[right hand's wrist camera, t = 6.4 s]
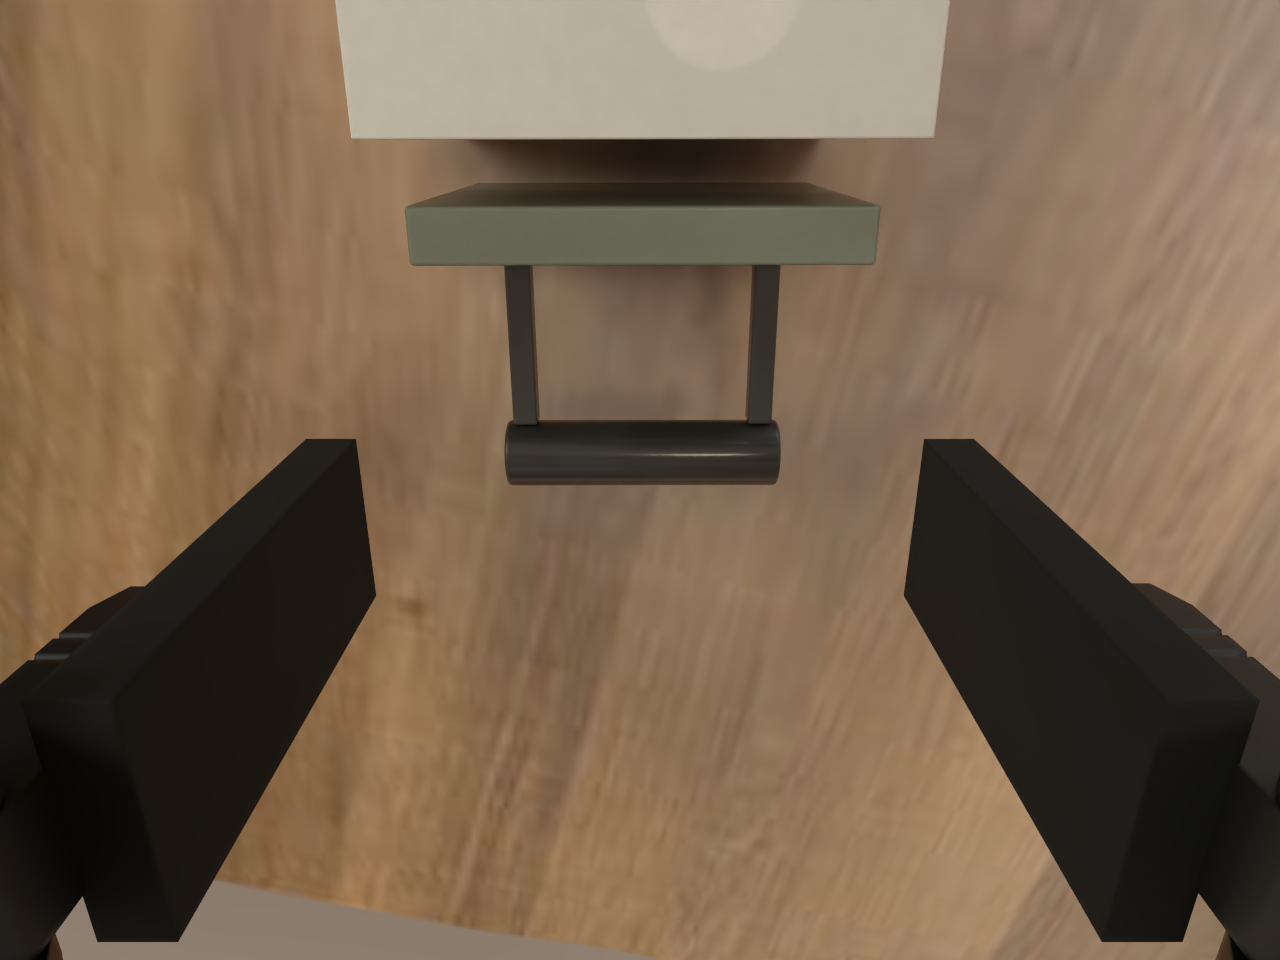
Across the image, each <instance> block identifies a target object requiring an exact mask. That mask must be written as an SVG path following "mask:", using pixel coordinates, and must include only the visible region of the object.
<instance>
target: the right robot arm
mask: <svg viewBox="0 0 1280 960" xmlns="http://www.w3.org/2000/svg"><path fill="white" fill-rule="evenodd" d="M375 597H376V591H375V583H374V575H373V568H372V560H371V552H370V545H369V537H368V529H367V522H366V514H365V506H364V498H363V491H362V483H361V475H360V468H359V460H358V452H357V445H356V439H306V440H305V441H304V442H303V443H301V444H300V445H299V446H298V447H297V448H296V449H295V450H294V451H293V452H292V453H290V454H289V455H288V456H287V457H286V458H285V459H284V460H283V461H282V462H281V463H280V464H278V465H277V466H276V467H275V468H274V469H273V470H272V471H271V472H270V473H269V474H268V475H266V476H265V477H264V478H263V479H262V480H261V481H260V482H259V483H258V484H257V485H255V486H254V487H253V488H252V489H251V490H250V491H249V492H248V493H247V494H246V495H245V496H243V497H242V498H241V499H240V500H239V501H238V502H237V503H236V504H235V505H234V506H233V507H231V508H230V509H229V510H228V511H227V512H226V513H225V514H224V515H223V516H222V517H220V518H219V519H218V520H217V521H216V522H215V523H214V524H213V525H212V526H211V527H210V528H208V529H207V530H206V531H205V532H204V533H203V534H202V535H201V536H200V537H199V538H197V539H196V540H195V541H194V542H193V543H192V544H191V545H190V546H189V547H188V548H187V549H185V550H184V551H183V552H182V553H181V554H180V555H179V556H178V557H177V558H176V559H175V560H173V561H172V562H171V563H170V564H169V565H168V566H167V567H166V568H165V569H164V570H162V571H161V572H160V573H159V574H158V575H157V576H156V577H155V578H154V579H153V580H152V581H150V582H149V583H148V584H147V585H146V586H145V587H129V588H127V589H125V590H123V591H121V592H119V593H117V594H115V595H113V596H111V597H109V598H107V599H106V600H104V601H102V602H100V603H98V604H96V605H94V606H92V607H90V608H88V609H87V610H86V611H85V612H84V613H83V614H81V615H80V616H79V617H78V618H77V619H76V620H74V621H73V622H72V623H71V624H70V625H69V626H67V627H66V628H65V629H64V630H63V631H62V632H60V633H59V639H52V640H51V641H50V642H49V643H48V644H46V645H45V646H44V647H43V648H42V649H41V650H39V651H38V652H37V653H36V654H35V658H34V660H28V661H27V662H26V663H24V664H23V665H22V666H21V667H20V668H19V669H17V670H16V671H15V672H14V673H13V674H12V675H10V676H9V677H8V678H7V679H6V680H5V681H3V682H2V683H1V684H0V960H63V958H62V952H61V949H60V946H59V943H58V940H57V937H56V934H55V933H56V932H57V930H58V929H59V927H60V926H61V925H62V923H63V922H64V921H65V919H66V918H67V916H68V915H69V914H70V912H71V911H72V910H73V908H74V907H75V906H76V904H77V903H78V901H79V900H80V899H81V897H82V896H83V898H84V901H85V904H86V907H87V911H88V914H89V917H90V920H91V923H92V926H93V929H94V932H95V935H96V938H97V941H98V942H178V941H179V939H180V937H181V936H182V934H183V932H184V931H185V929H186V927H187V925H188V924H189V922H190V920H191V918H192V917H193V915H194V913H195V911H196V910H197V908H198V906H199V904H200V903H201V901H202V899H203V897H204V896H205V894H206V892H207V890H208V889H209V887H210V885H211V883H212V882H213V880H214V878H215V876H216V875H217V873H218V871H219V869H220V868H221V866H222V864H223V862H224V861H225V859H226V857H227V855H228V854H229V852H230V850H231V848H232V847H233V845H234V843H235V841H236V840H237V838H238V836H239V834H240V833H241V831H242V829H243V827H244V826H245V824H246V822H247V820H248V819H249V817H250V815H251V813H252V812H253V810H254V808H255V806H256V805H257V803H258V801H259V799H260V798H261V796H262V794H263V792H264V791H265V789H266V787H267V785H268V784H269V782H270V780H271V778H272V777H273V775H274V773H275V771H276V770H277V768H278V766H279V764H280V763H281V761H282V759H283V757H284V756H285V754H286V752H287V750H288V749H289V747H290V745H291V743H292V742H293V740H294V738H295V736H296V735H297V733H298V731H299V729H300V728H301V726H302V724H303V722H304V721H305V719H306V717H307V715H308V714H309V712H310V710H311V708H312V707H313V705H314V703H315V701H316V700H317V698H318V696H319V694H320V693H321V691H322V689H323V687H324V686H325V684H326V682H327V680H328V679H329V677H330V675H331V673H332V672H333V670H334V668H335V667H336V665H337V663H338V661H339V660H340V658H341V656H342V654H343V653H344V651H345V649H346V647H347V646H348V644H349V642H350V640H351V639H352V637H353V635H354V633H355V632H356V630H357V628H358V626H359V625H360V623H361V621H362V619H363V618H364V616H365V614H366V612H367V611H368V609H369V607H370V605H371V604H372V602H373V600H374V598H375ZM904 597H905V598H906V600H907V602H908V604H909V605H910V607H911V609H912V611H913V612H914V614H915V616H916V618H917V619H918V621H919V623H920V625H921V626H922V628H923V630H924V632H925V633H926V635H927V637H928V639H929V640H930V642H931V644H932V646H933V647H934V649H935V651H936V653H937V654H938V656H939V658H940V660H941V661H942V663H943V665H944V667H945V668H946V670H947V672H948V674H949V675H950V677H951V679H952V681H953V682H954V684H955V686H956V688H957V689H958V691H959V693H960V695H961V696H962V698H963V700H964V702H965V703H966V705H967V707H968V709H969V710H970V712H971V714H972V715H973V717H974V719H975V721H976V722H977V724H978V726H979V728H980V729H981V731H982V733H983V735H984V736H985V738H986V740H987V742H988V743H989V745H990V747H991V749H992V750H993V752H994V754H995V756H996V757H997V759H998V761H999V763H1000V764H1001V766H1002V768H1003V770H1004V771H1005V773H1006V775H1007V777H1008V778H1009V780H1010V782H1011V784H1012V785H1013V787H1014V789H1015V791H1016V792H1017V794H1018V796H1019V798H1020V799H1021V801H1022V803H1023V805H1024V806H1025V808H1026V810H1027V812H1028V813H1029V815H1030V817H1031V819H1032V820H1033V822H1034V824H1035V826H1036V827H1037V829H1038V831H1039V833H1040V834H1041V836H1042V838H1043V840H1044V841H1045V843H1046V845H1047V847H1048V848H1049V850H1050V852H1051V854H1052V855H1053V857H1054V859H1055V861H1056V862H1057V864H1058V866H1059V868H1060V869H1061V871H1062V873H1063V875H1064V876H1065V878H1066V880H1067V882H1068V883H1069V885H1070V887H1071V889H1072V890H1073V892H1074V894H1075V896H1076V897H1077V899H1078V901H1079V903H1080V904H1081V906H1082V908H1083V910H1084V911H1085V913H1086V915H1087V917H1088V918H1089V920H1090V922H1091V924H1092V925H1093V927H1094V929H1095V931H1096V932H1097V934H1098V936H1099V938H1100V939H1101V941H1102V942H1183V939H1184V935H1185V932H1186V929H1187V926H1188V923H1189V920H1190V917H1191V914H1192V911H1193V907H1194V904H1195V901H1196V898H1197V895H1198V893H1199V894H1200V895H1201V897H1202V898H1203V899H1204V901H1205V902H1206V903H1207V905H1208V906H1209V908H1210V909H1211V910H1212V912H1213V913H1214V914H1215V916H1216V917H1217V918H1218V920H1219V921H1220V922H1221V924H1222V925H1223V927H1224V928H1225V929H1226V931H1225V934H1224V937H1223V940H1222V943H1221V946H1220V949H1219V952H1218V954H1217V957H1216V960H1280V680H1279V679H1278V678H1277V677H1276V676H1275V675H1273V674H1272V673H1271V672H1270V671H1269V670H1268V669H1266V668H1265V667H1264V666H1263V665H1262V664H1261V663H1259V662H1258V661H1257V660H1256V659H1255V658H1254V657H1247V655H1246V652H1247V651H1245V650H1244V649H1243V648H1242V647H1241V646H1240V645H1238V644H1237V643H1236V642H1235V641H1234V640H1232V639H1231V638H1230V637H1229V636H1228V635H1222V633H1221V632H1222V630H1221V629H1220V628H1218V627H1217V626H1216V625H1215V624H1214V623H1213V622H1211V621H1210V620H1209V619H1208V618H1207V617H1206V616H1204V615H1203V614H1202V613H1201V612H1200V611H1198V610H1197V609H1196V608H1195V607H1194V606H1193V605H1191V604H1189V603H1187V602H1185V601H1183V600H1181V599H1179V598H1177V597H1175V596H1173V595H1171V594H1169V593H1168V592H1166V591H1164V590H1162V589H1160V588H1158V587H1156V586H1154V585H1152V584H1132V583H1131V582H1130V581H1128V580H1127V579H1126V578H1125V577H1124V576H1123V575H1122V574H1121V573H1120V572H1119V571H1117V570H1116V569H1115V568H1114V567H1113V566H1112V565H1111V564H1110V563H1109V562H1108V561H1107V560H1105V559H1104V558H1103V557H1102V556H1101V555H1100V554H1099V553H1098V552H1097V551H1096V550H1095V549H1093V548H1092V547H1091V546H1090V545H1089V544H1088V543H1087V542H1086V541H1085V540H1084V539H1082V538H1081V537H1080V536H1079V535H1078V534H1077V533H1076V532H1075V531H1074V530H1073V529H1072V528H1070V527H1069V526H1068V525H1067V524H1066V523H1065V522H1064V521H1063V520H1062V519H1061V518H1060V517H1058V516H1057V515H1056V514H1055V513H1054V512H1053V511H1052V510H1051V509H1050V508H1049V507H1047V506H1046V505H1045V504H1044V503H1043V502H1042V501H1041V500H1040V499H1039V498H1038V497H1037V496H1035V495H1034V494H1033V493H1032V492H1031V491H1030V490H1029V489H1028V488H1027V487H1026V486H1025V485H1023V484H1022V483H1021V482H1020V481H1019V480H1018V479H1017V478H1016V477H1015V476H1014V475H1012V474H1011V473H1010V472H1009V471H1008V470H1007V469H1006V468H1005V467H1004V466H1003V465H1002V464H1000V463H999V462H998V461H997V460H996V459H995V458H994V457H993V456H992V455H991V454H989V453H988V452H987V451H986V450H985V449H984V448H983V447H982V446H981V445H980V444H979V443H977V442H976V441H975V440H974V439H924V444H923V452H922V460H921V467H920V475H919V483H918V491H917V498H916V506H915V514H914V521H913V529H912V537H911V544H910V552H909V560H908V568H907V575H906V583H905V591H904Z"/></svg>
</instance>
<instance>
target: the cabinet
mask: <svg viewBox="0 0 1280 960" xmlns="http://www.w3.org/2000/svg"><path fill="white" fill-rule="evenodd" d="M335 3H336V12H337V20H338V29H339V37H340V46H341V54H342V63H343V71H344V79H345V88H346V96H347V105H348V113H349V122H350V130H351V137H352V139H354V140H500V139H932V138H933V137H934V135H935V126H936V118H937V109H938V101H939V92H940V84H941V75H942V67H943V58H944V50H945V41H946V33H947V24H948V15H949V7H950V0H335Z"/></svg>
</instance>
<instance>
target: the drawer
mask: <svg viewBox="0 0 1280 960" xmlns="http://www.w3.org/2000/svg"><path fill="white" fill-rule="evenodd" d="M405 216H406V226H407V236H408V246H409V256H410V263H411V265H414V266H475V265H504V269H505V285H506V302H507V319H508V336H509V353H510V369H511V386H512V403H513V420H512V421H509V423H508V425H507V429H506V435H505V469H506V476H507V479H508V482H509V484H511V485H773V484H775V483H776V482H777V479H778V476H779V470H780V455H781V449H780V433H779V428H778V425H777V422H776V421H774V420H771V418H772V400H773V383H774V366H775V349H776V332H777V314H778V297H779V280H780V265H872V264H874V263H875V260H876V250H877V239H878V229H879V219H880V206H878V205H876V204H872V203H869V202H866V201H863V200H860V199H856V198H853V197H850V196H847V195H843V194H840V193H837V192H834V191H831V190H827V189H824V188H821V187H818V186H814V185H811V184H808V183H478V184H474V185H471V186H468V187H465V188H462V189H459V190H456V191H453V192H450V193H447V194H443V195H440V196H437V197H434V198H431V199H428V200H425V201H422V202H419V203H416V204H412V205H409V206H407V207H406V208H405ZM532 265H752V286H751V307H750V329H749V351H748V372H747V394H746V419H747V420H539V417H540V415H539V394H538V373H537V352H536V331H535V310H534V289H533V268H532Z"/></svg>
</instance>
